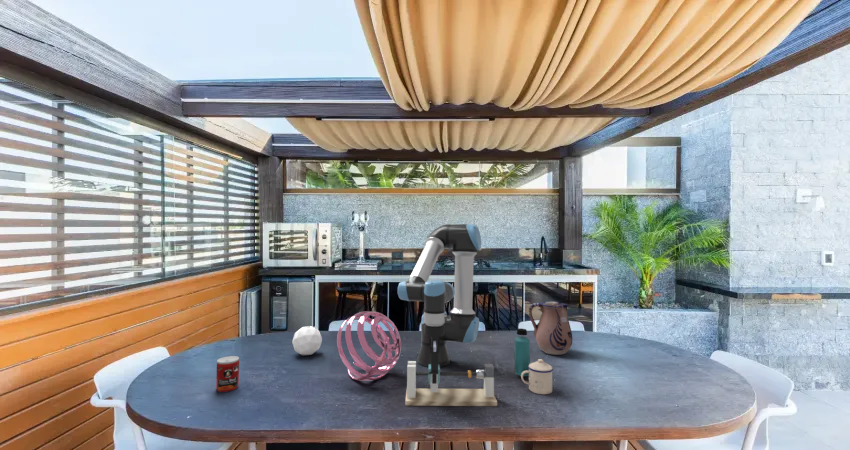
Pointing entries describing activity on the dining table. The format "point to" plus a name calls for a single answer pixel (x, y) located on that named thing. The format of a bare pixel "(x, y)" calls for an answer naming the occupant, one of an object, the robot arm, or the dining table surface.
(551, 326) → the ceramic pitcher
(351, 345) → the spiral basket
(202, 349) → the dining table surface
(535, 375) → the teacup with lid
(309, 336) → the geodesic sphere
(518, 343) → the beverage bottle
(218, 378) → the canned food
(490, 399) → the cord jig
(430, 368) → the sleeve
